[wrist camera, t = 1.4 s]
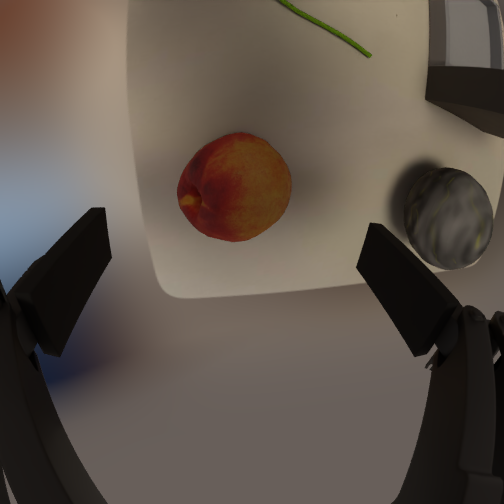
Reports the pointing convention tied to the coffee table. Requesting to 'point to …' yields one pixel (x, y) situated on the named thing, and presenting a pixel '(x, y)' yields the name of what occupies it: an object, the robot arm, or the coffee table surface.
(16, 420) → the robot arm
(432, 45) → the tray with tall back
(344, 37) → the decorative flower
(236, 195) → the fruit
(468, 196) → the decorative stone
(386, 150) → the coffee table surface
